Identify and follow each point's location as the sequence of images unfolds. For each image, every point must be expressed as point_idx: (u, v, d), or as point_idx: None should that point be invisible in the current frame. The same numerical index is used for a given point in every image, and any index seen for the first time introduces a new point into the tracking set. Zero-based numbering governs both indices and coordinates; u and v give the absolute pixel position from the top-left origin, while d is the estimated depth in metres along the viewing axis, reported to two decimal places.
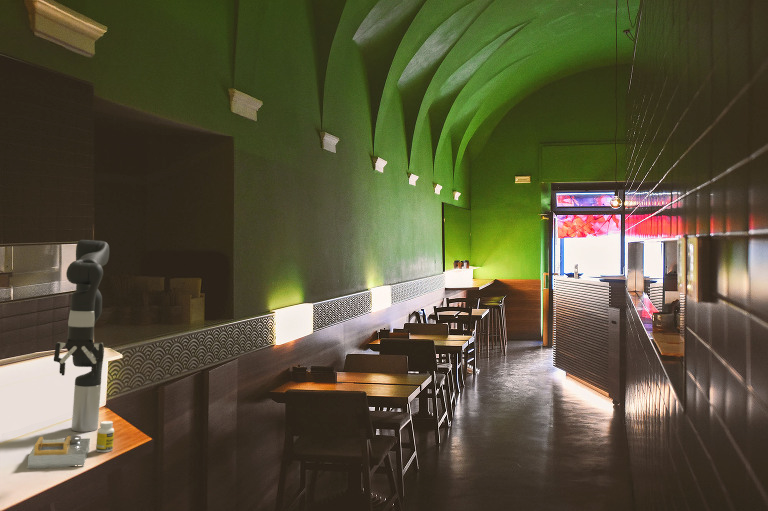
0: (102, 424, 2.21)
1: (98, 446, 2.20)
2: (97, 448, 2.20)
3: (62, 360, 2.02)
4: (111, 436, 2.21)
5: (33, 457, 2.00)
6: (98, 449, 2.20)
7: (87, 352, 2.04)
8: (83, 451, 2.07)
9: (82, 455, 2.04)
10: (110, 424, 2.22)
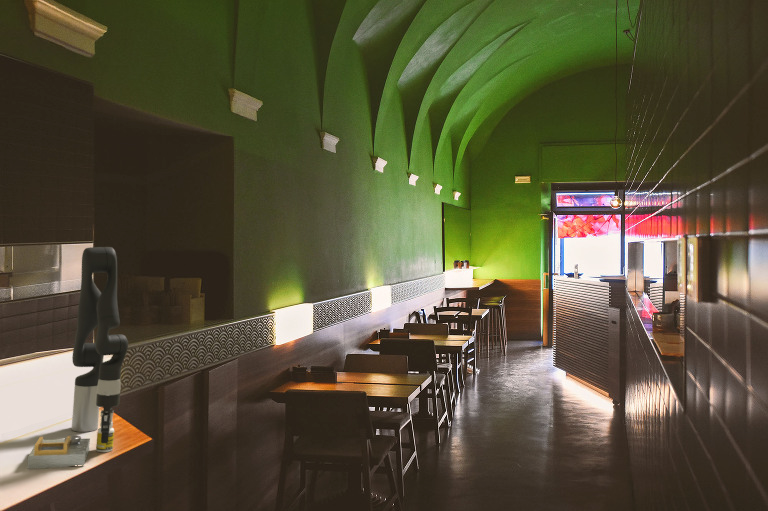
0: None
1: (98, 446, 2.20)
2: (97, 448, 2.20)
3: None
4: (111, 436, 2.21)
5: (33, 457, 2.00)
6: (98, 449, 2.20)
7: None
8: (83, 451, 2.07)
9: (82, 455, 2.04)
10: None
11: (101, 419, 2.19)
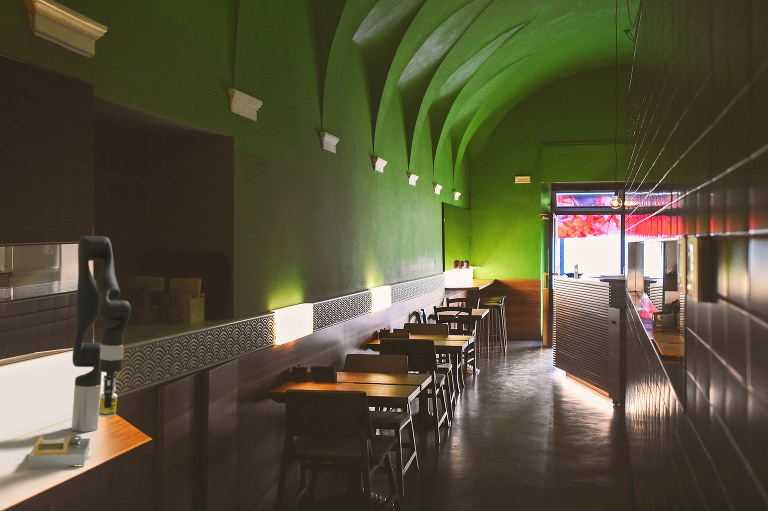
0: None
1: (101, 411, 2.20)
2: (100, 413, 2.21)
3: None
4: (114, 401, 2.22)
5: (33, 457, 2.00)
6: (101, 414, 2.20)
7: None
8: (83, 451, 2.07)
9: (82, 455, 2.04)
10: None
11: (104, 384, 2.20)
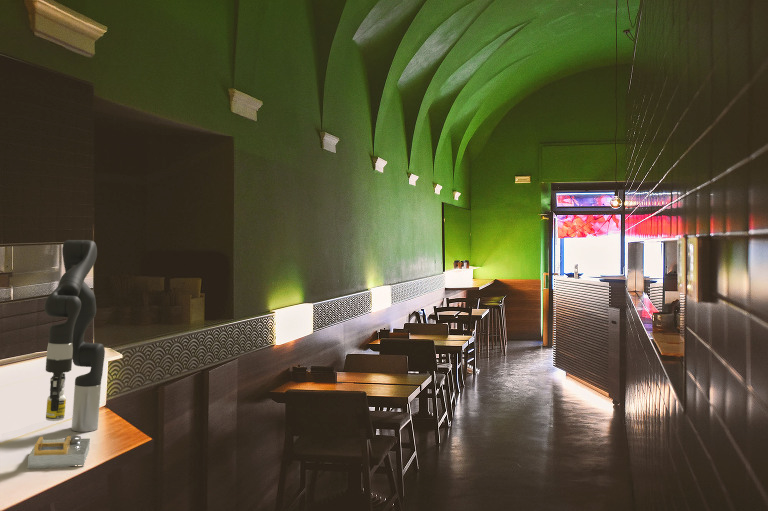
0: None
1: (48, 414, 2.05)
2: (47, 416, 2.05)
3: (59, 395, 2.05)
4: (62, 404, 2.06)
5: (33, 457, 2.00)
6: (48, 417, 2.05)
7: None
8: (83, 451, 2.07)
9: (82, 455, 2.04)
10: None
11: None
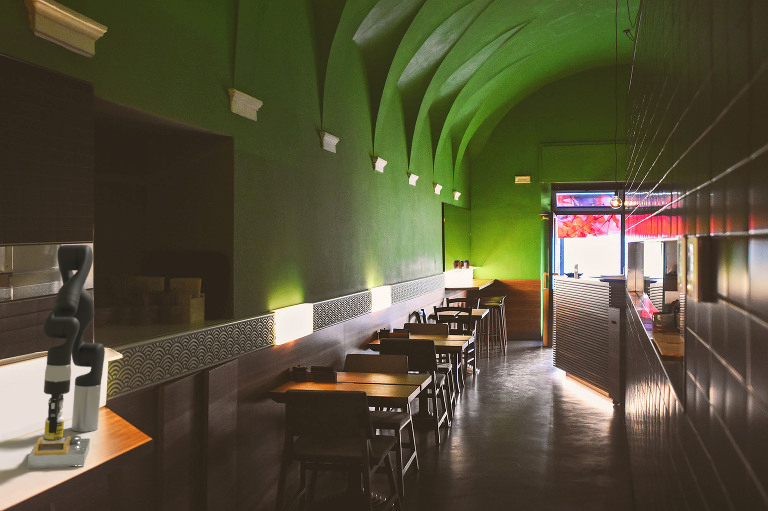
0: None
1: (46, 436, 2.05)
2: (45, 438, 2.05)
3: (57, 417, 2.04)
4: (60, 425, 2.06)
5: (33, 457, 2.00)
6: (46, 439, 2.05)
7: (62, 404, 2.10)
8: (83, 451, 2.07)
9: (82, 455, 2.04)
10: None
11: None
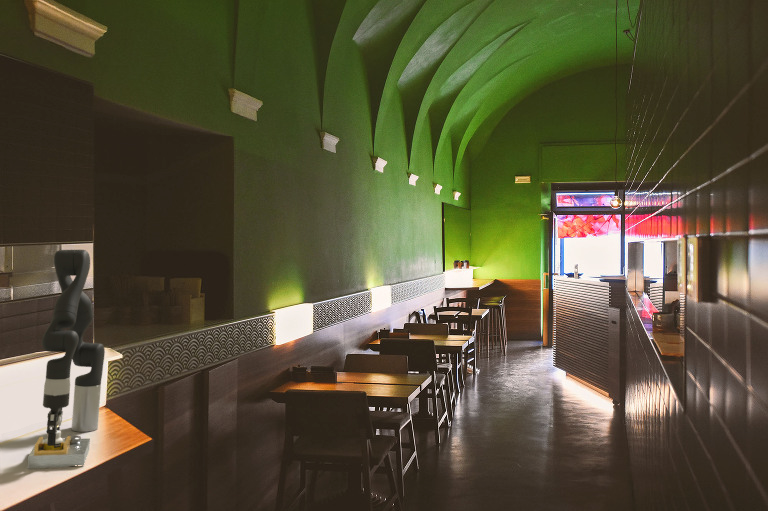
0: None
1: None
2: None
3: (56, 430, 2.03)
4: (59, 446, 2.06)
5: (33, 457, 2.00)
6: None
7: (61, 416, 2.10)
8: (83, 451, 2.07)
9: (82, 455, 2.04)
10: (58, 434, 2.06)
11: None
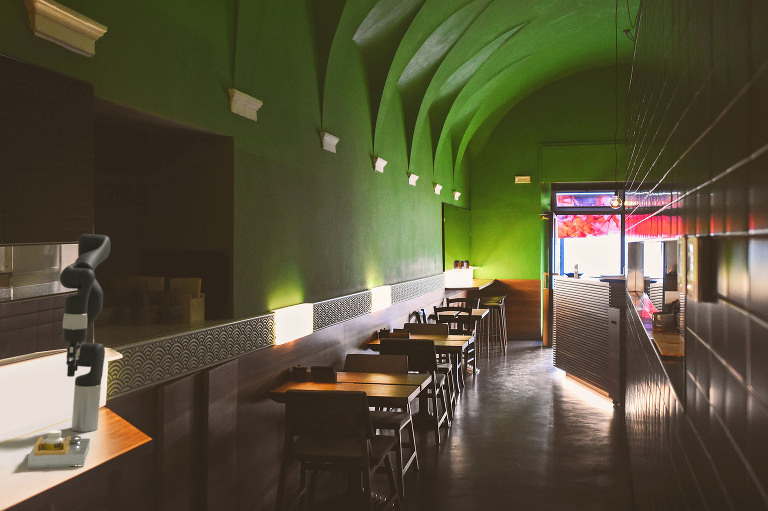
0: (49, 434, 2.05)
1: None
2: None
3: (75, 362, 2.14)
4: (59, 446, 2.06)
5: (33, 457, 2.00)
6: None
7: (79, 350, 2.21)
8: (83, 451, 2.07)
9: (82, 455, 2.04)
10: (58, 434, 2.06)
11: None
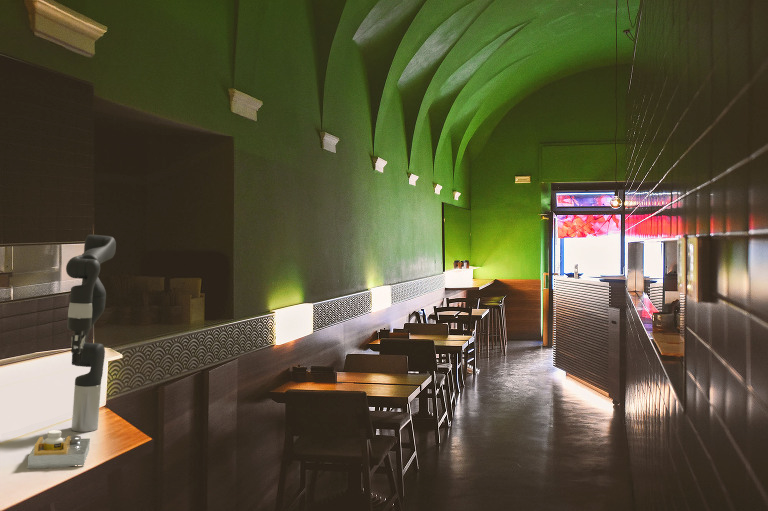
0: (49, 434, 2.05)
1: None
2: None
3: None
4: (59, 447, 2.06)
5: (33, 457, 2.00)
6: None
7: (84, 340, 2.24)
8: (83, 451, 2.07)
9: (82, 455, 2.04)
10: (58, 434, 2.06)
11: None
